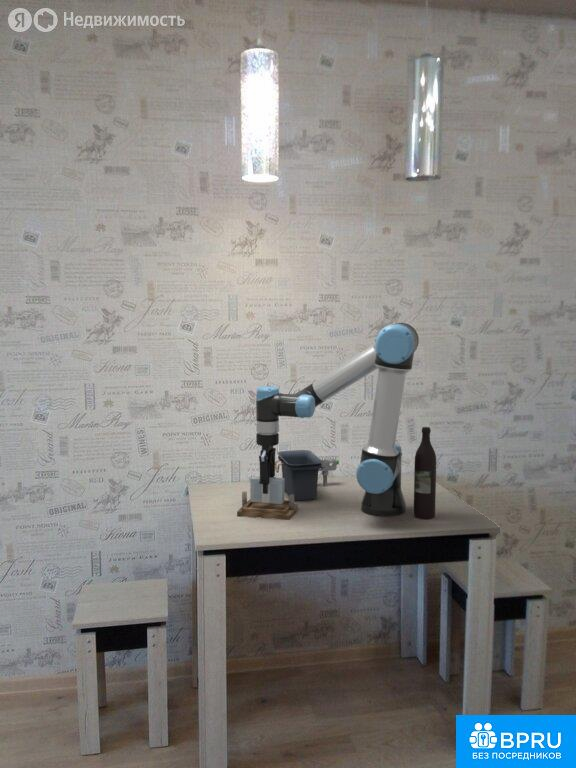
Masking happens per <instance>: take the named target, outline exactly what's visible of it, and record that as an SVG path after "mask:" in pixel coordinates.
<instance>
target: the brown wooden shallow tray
mask: <svg viewBox="0 0 576 768" xmlns="http://www.w3.org/2000/svg"><path fill="white" fill-rule="evenodd" d="M247 494H248V492H247V491H241V507H240V508H239V509H238V510H237V511H236V512H237V513H236V517H242V516H248V517H247V518H256V517H261V518H260V519H271V518H274V519H275V520H287V521H288V520H291V519H292V517H293V516H294V514H295V513H296V512H297V510H298V509H299V504H298V503H295V500H294V495H293V494H291V495H289V494H288V497H289V500H288V499H284V502H283V504H273V503H260V502H250V499H249V500H248V495H247Z"/></svg>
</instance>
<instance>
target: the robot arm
mask: <svg viewBox="0 0 576 768" xmlns="http://www.w3.org/2000/svg"><path fill="white" fill-rule="evenodd" d="M419 339H420V338H419V334H418V332H417V330H416V329H415V328H414V327H413V326H412V325H410V324H408V323H406V322H396V323H392V324H388V325H386V326H385V327H383V328H382V329H381V330H380V331H379V333H378V335H377V337H375V339H374V341H373V344H372V345H370V346H369V347H368V348H366V349H364V350H363V351H361V352H360V353H358V354H356V355H355V356H353V357H351V358H350V359H348V360H347V361H345V362H344V363H342V364H340V365H339V366H337V367H336V368H335V369H332V370H331V371H330V372H328V373H326V374H325V375H323V376H322V377H320V378H319V379H317V380H315V381H314V382H312V383H311V384H309V385H307V386H306V387H304V388H303V389H301V390H299V391H297V392H296V393H280V391H279V388H278V386H271V385H270V386H269V385H268V386H266V385H265V386H260V387H258V388H257V389H256V397H255V403H256V404H255V410H256V411H255V412H256V419H255V420H256V422H255V423H254V425H255V426H256V432H257V433H256V438H255V442H256V445H257V446H260V447H261V450H260V454H259V455H258V461H259V477H260V482H259V484H262V502H263V503H270V483H269V477H272V478H277V477H276V471H275V462H276V452H277V451H276V450H277V449H276V446H277V445H279V443H280V442H279V440H280V439H279V438H280V437H279V436H280V435H279V431H280V425H279V424H280V419H279V417H290V418H292V417H293V418H301V419H304V418H312V417H314V414H315V412H316V408H317V407H318V406H320V405H321V404H323V403H324V402H326V401H327V400H329V399H331V398H332V397H334V396H336V395H337V394H338V393H340V392H342V391H344V390H345V389H347V388H349V387H350V386H352V385H353V384H355V383H358V381H361V379H363V378H365V377H366V376H368V375H370V374H371V373H373V372H375V371H376V370H378V374H377V379H376V385H375V394H374V399H373V400H374V401H373V406H372V413H371V414H372V415H371V420H370V426H369V427H370V428H369V434H368V441H367V443H366V444H365V445H363V446H362V448H361V456H360V462H359V465H358V466H357V469H356V474H355V475H356V480H357V484H358V485H359V487H361V489H363V490H364V491H365V492H364V493H363V497H362V500H361V504H360V505H361V506H360V508H361V509H360V510H361V511H362V512H363V513H365V514H368V515H371V516H377V517H394V516H399V515H403V514H404V513H405V512H406V511H407V510H406V509H407V503H406V500H405V497H404V494H403V491H402V456H403V452H402V446H401V445H399V444H397V443H396V442H397V441H396V440H397V433H398V428H399V421H400V415H401V409H402V402H403V400H402V399H403V394H404V389H405V388H404V387H405V381H406V375H407V373H409V372H410V371H412V368H413V361H414V356H415V352H416V351H417V348H418V346H419V342H420V340H419ZM274 446H275V447H274Z"/></svg>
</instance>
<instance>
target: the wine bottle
mask: <svg viewBox="0 0 576 768" xmlns="http://www.w3.org/2000/svg"><path fill="white" fill-rule="evenodd" d="M431 431H432V429H431V427H429V426H423V427H422V428H421V433H422V434H421V435H422V436H421V442H420V444H419V446H418V448H417V449H416V451H415V456H414V472H413V473H414V476H413V477H414V478H413V479H414V480H413V482H414V483H413V486H414V487H413V516H414V517H415V518H418V519H423V520H429V519H434V518H435V517H436V500H437V499H436V497H437V496H436V495H437V454H436V451H435V449H434V447H433V445H432V442H431Z"/></svg>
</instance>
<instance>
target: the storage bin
mask: <svg viewBox="0 0 576 768" xmlns="http://www.w3.org/2000/svg"><path fill="white" fill-rule="evenodd" d="M276 454H277V455H278V457H277V458H278V460H275V473H277V474H278V473H279V470H280V466H281V476H282V477H281V478H285V492H286V493H287V494H288V496H289V495H291V494H293V495H294V502H295V501H296V502H298V501H310V500H311V501H312V500H316V499H317V496H318V495H317V494H318V483H319V481H318V480H319V471H318V470H319V469H321V468H322V465H321V463H323V461H322V460H323V459H321V458H320V457H319V456H317V455H316V454H315V453H314V452H312V450H307V449H295V450H281V451H278V452H277V453H276ZM278 462H280V463H278ZM277 463H278V465H277Z"/></svg>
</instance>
